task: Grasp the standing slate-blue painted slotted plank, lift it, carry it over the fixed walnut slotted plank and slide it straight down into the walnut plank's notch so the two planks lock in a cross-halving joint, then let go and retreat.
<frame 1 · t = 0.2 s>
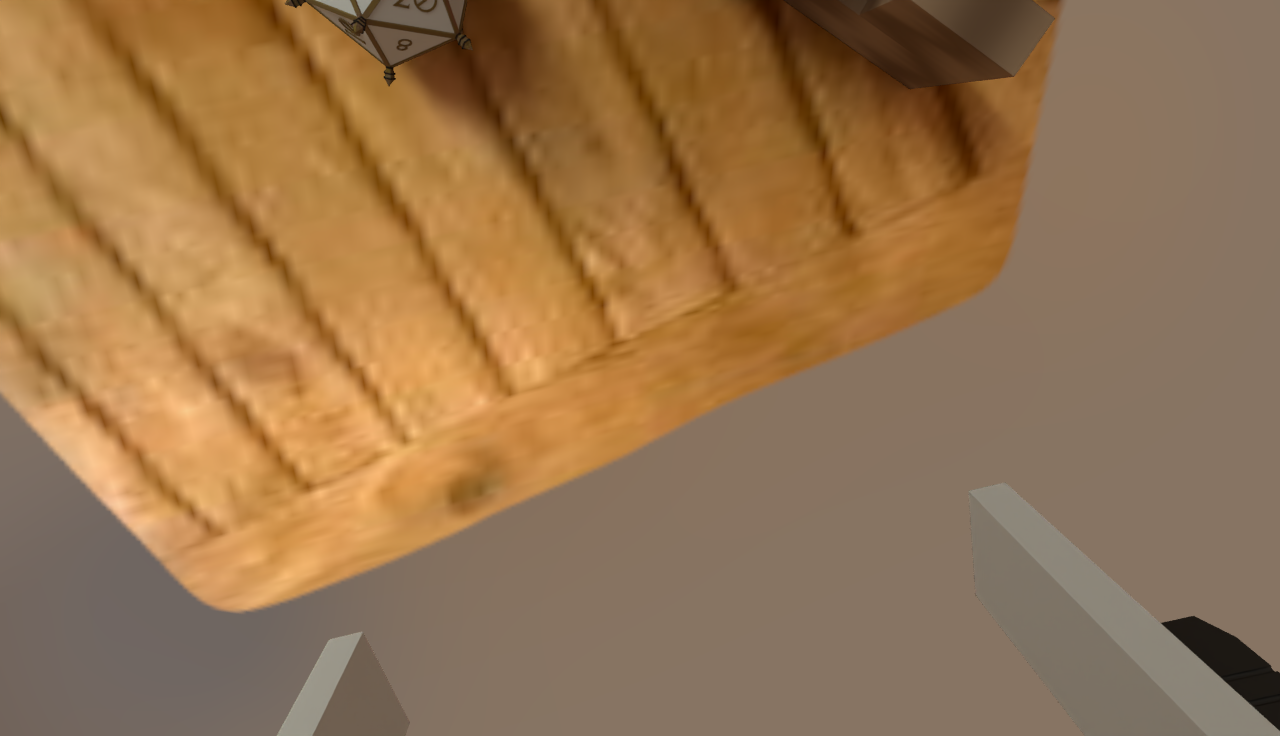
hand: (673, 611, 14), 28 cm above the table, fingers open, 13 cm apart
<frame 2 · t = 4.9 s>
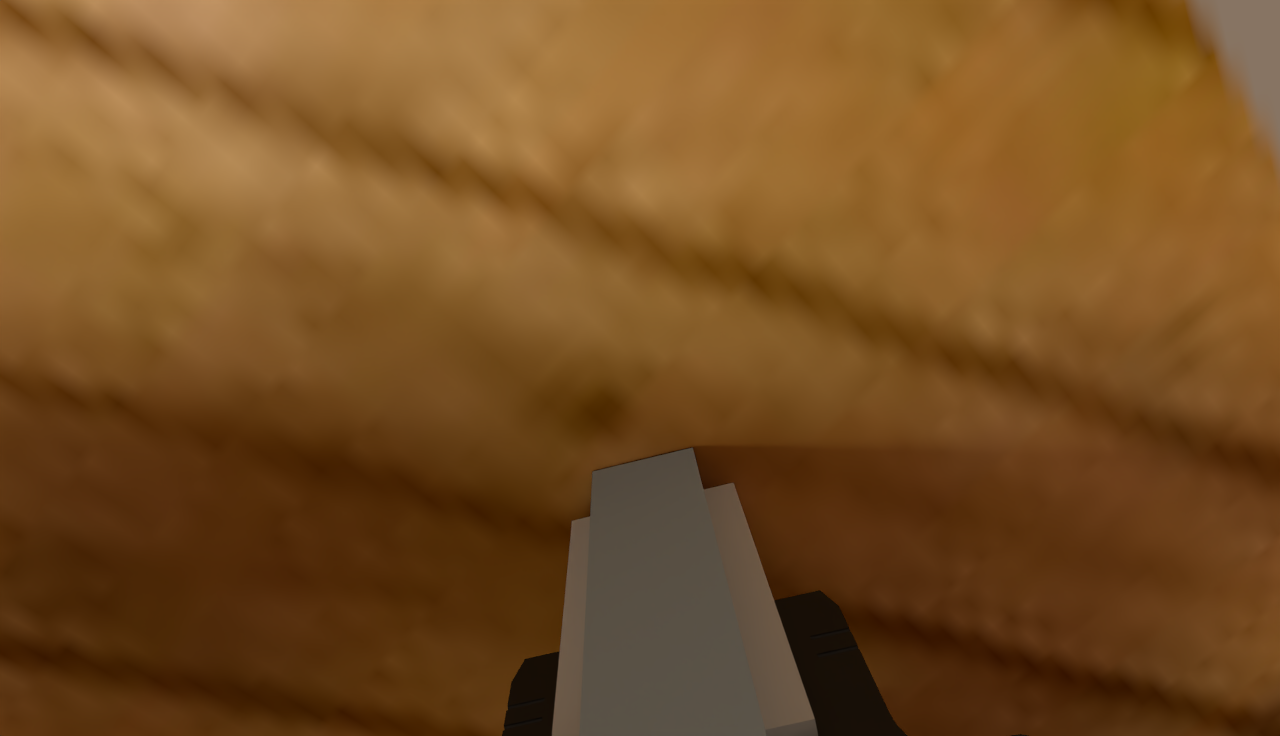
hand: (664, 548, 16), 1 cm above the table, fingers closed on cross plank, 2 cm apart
cross plank: (698, 659, 18), on the table, touching gripper
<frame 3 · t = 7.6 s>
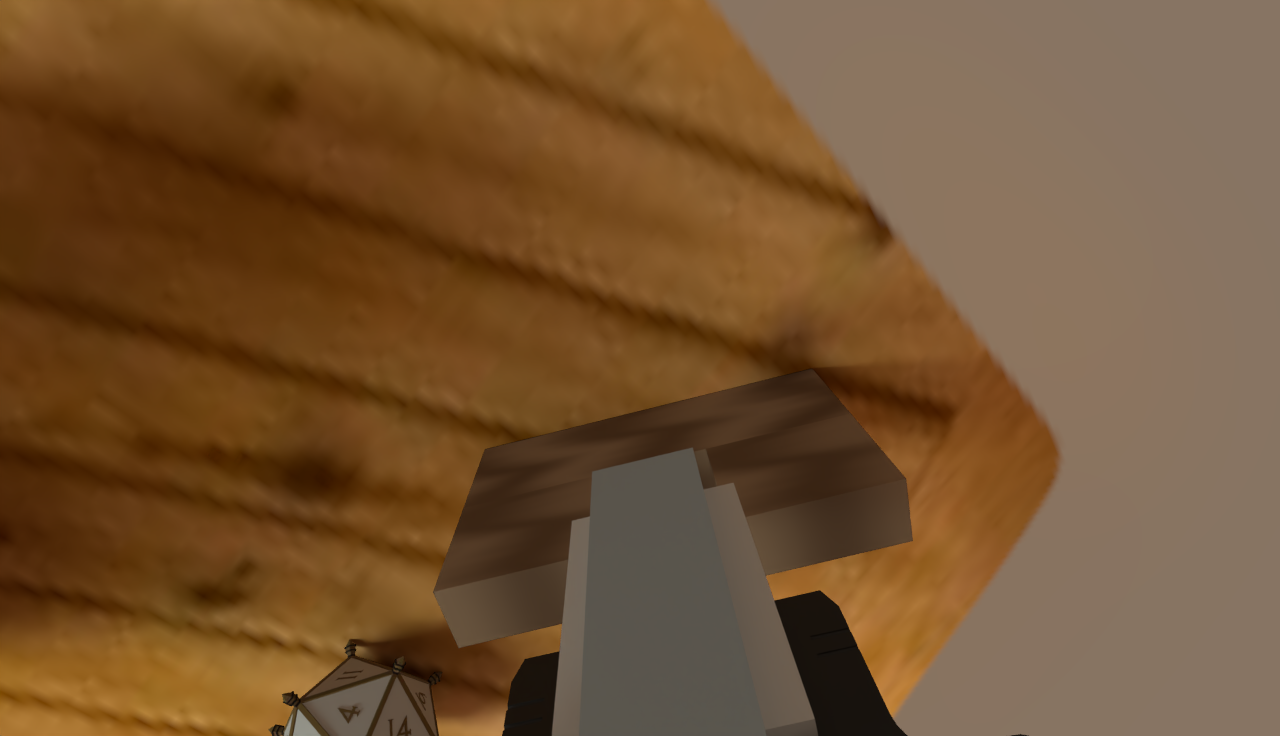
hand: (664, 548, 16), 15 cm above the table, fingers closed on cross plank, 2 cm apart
base plank: (653, 432, 31), on the table
game die: (387, 672, 36), on the table
cross plank: (697, 659, 18), point 14 cm above the table, touching gripper
when the fingers open (1 cm above the table, at t = 10.3 s): cross plank stays where it is, on the table.
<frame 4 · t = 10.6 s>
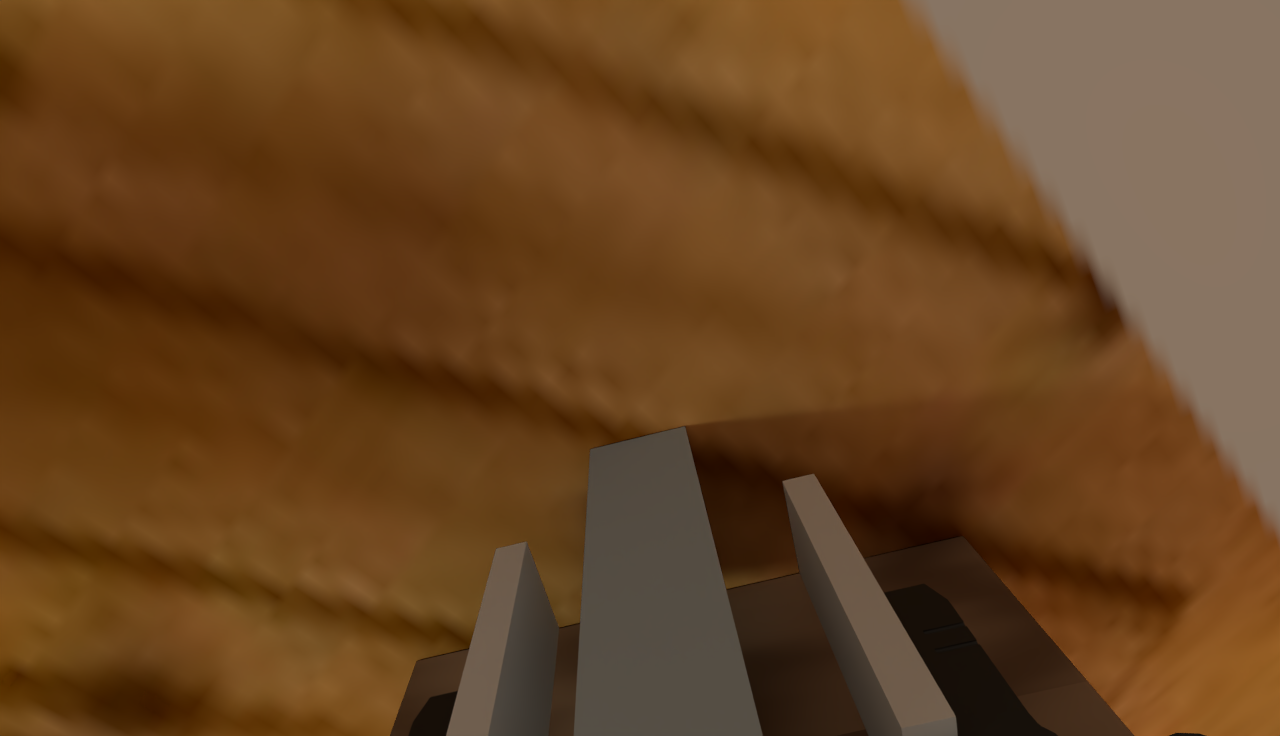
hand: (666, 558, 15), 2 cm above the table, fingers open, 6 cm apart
base plank: (693, 632, 19), on the table
cross plank: (691, 630, 19), on the table
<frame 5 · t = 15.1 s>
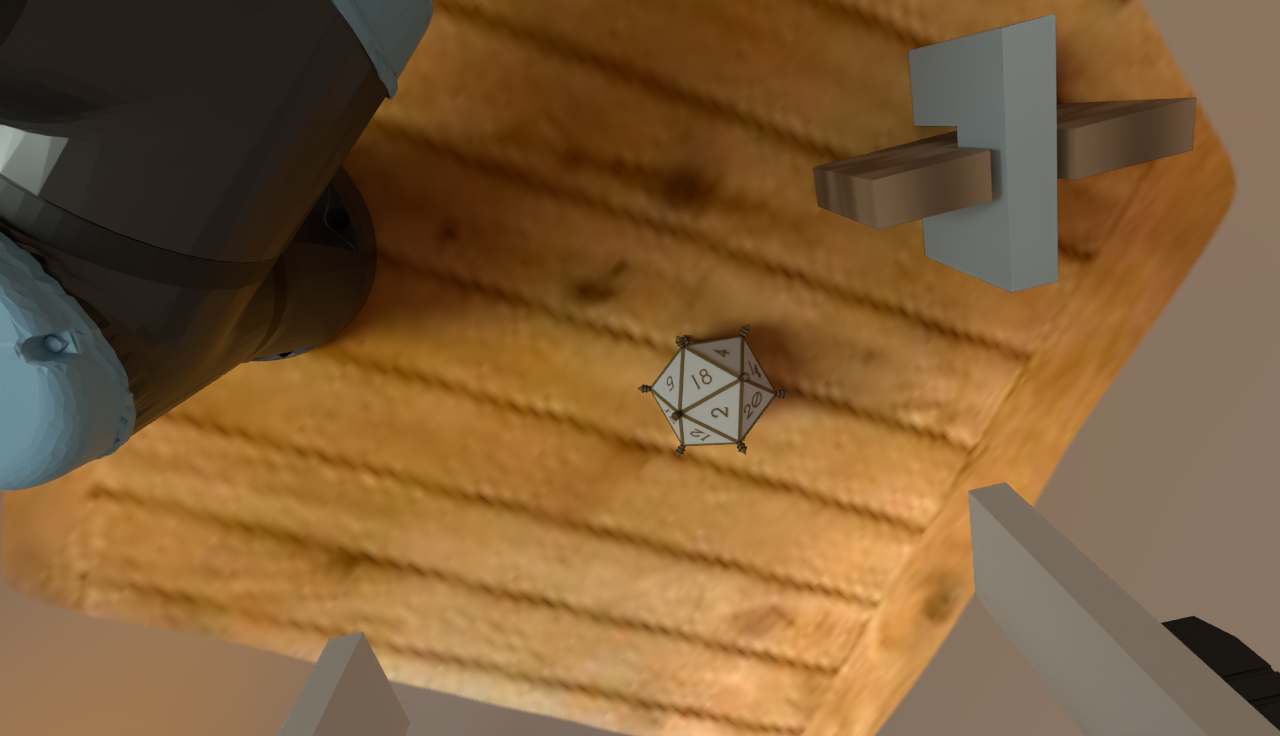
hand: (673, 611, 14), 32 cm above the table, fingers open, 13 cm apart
base plank: (937, 155, 41), on the table
game die: (703, 368, 46), on the table
cross plank: (936, 154, 41), on the table
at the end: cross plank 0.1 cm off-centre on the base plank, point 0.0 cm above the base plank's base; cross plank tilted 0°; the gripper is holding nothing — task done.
